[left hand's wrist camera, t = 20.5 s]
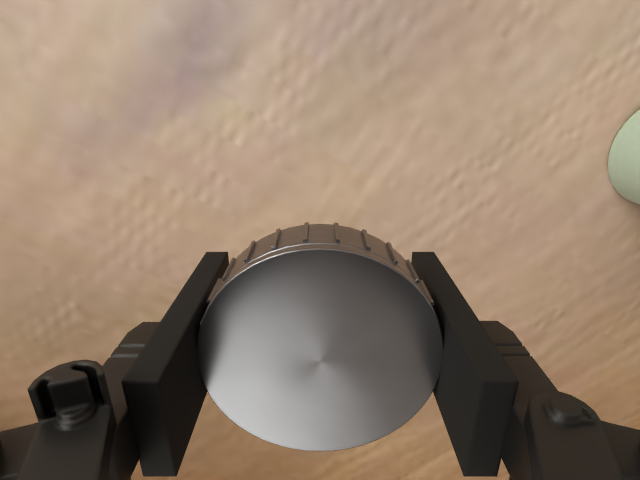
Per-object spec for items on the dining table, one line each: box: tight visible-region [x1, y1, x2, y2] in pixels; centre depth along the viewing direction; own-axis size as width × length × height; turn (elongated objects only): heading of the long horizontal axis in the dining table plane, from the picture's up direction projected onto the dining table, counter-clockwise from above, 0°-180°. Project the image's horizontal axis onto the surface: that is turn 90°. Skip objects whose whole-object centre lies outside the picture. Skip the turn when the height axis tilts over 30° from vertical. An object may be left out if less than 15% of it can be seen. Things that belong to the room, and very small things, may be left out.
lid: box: [197, 222, 444, 451], centre depth 11 cm, size 7×7×2 cm
